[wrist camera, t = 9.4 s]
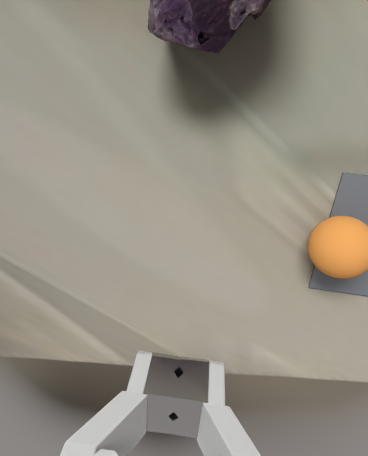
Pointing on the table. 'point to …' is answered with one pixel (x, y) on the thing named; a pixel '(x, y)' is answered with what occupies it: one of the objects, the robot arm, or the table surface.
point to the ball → (340, 247)
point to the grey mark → (357, 208)
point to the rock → (201, 20)
